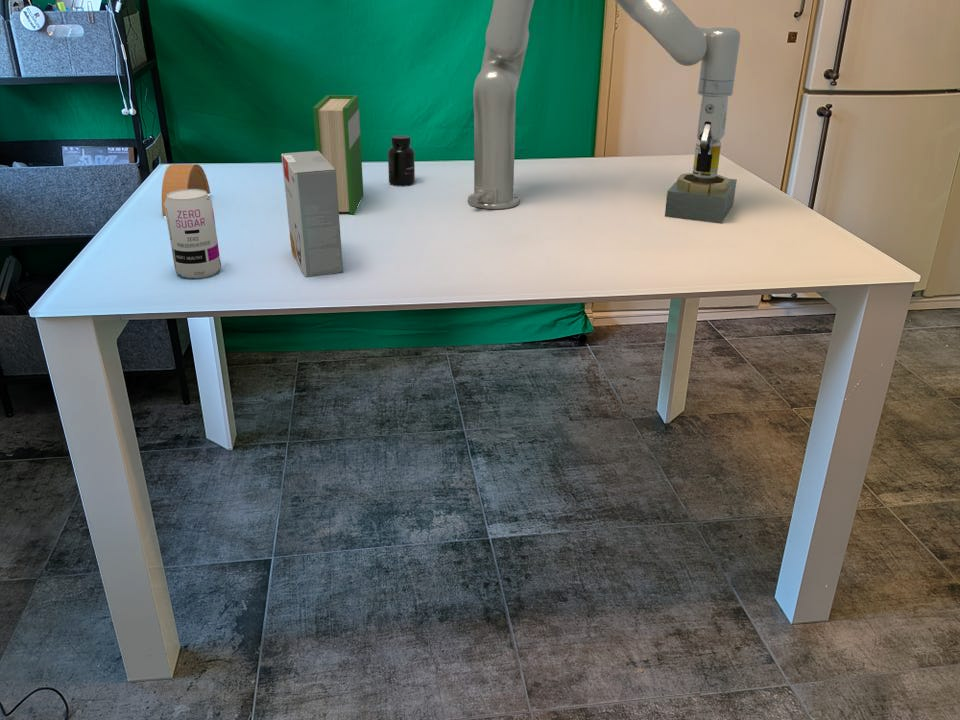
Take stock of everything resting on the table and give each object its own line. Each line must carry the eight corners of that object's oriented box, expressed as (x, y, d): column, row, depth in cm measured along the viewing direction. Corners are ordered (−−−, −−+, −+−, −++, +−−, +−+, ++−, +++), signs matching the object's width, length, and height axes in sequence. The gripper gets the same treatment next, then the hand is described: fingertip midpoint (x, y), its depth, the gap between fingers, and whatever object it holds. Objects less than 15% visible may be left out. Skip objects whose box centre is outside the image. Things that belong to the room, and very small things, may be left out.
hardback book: (353, 215, 189) (347, 108, 178) (321, 215, 189) (312, 107, 178) (363, 195, 204) (358, 95, 194) (333, 194, 204) (326, 95, 194)
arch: (211, 196, 203) (205, 155, 198) (188, 219, 185) (181, 175, 181) (187, 196, 203) (181, 155, 198) (162, 219, 185) (155, 175, 180)
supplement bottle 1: (413, 186, 212) (412, 139, 207) (387, 186, 212) (385, 139, 207) (416, 180, 218) (414, 134, 213) (390, 179, 218) (388, 134, 213)
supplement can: (207, 261, 160) (195, 185, 153) (229, 272, 155) (219, 194, 148) (168, 272, 154) (154, 193, 148) (190, 283, 149) (177, 202, 143)
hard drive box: (290, 252, 165) (280, 152, 156) (328, 248, 168) (320, 150, 159) (304, 278, 152) (294, 171, 143) (344, 273, 155) (337, 167, 146)
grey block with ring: (721, 223, 185) (726, 191, 182) (664, 216, 190) (668, 184, 186) (735, 199, 203) (740, 169, 200) (683, 193, 208) (686, 164, 205)
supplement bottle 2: (721, 176, 191) (727, 131, 187) (708, 180, 188) (714, 135, 183) (700, 172, 195) (706, 128, 190) (687, 176, 191) (692, 131, 187)
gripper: (727, 94, 174) (715, 178, 182) (738, 83, 188) (727, 162, 196) (691, 91, 177) (681, 175, 185) (705, 81, 191) (695, 159, 199)
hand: (705, 167), depth 190 cm, fingers closed on supplement bottle 2, 5 cm apart
